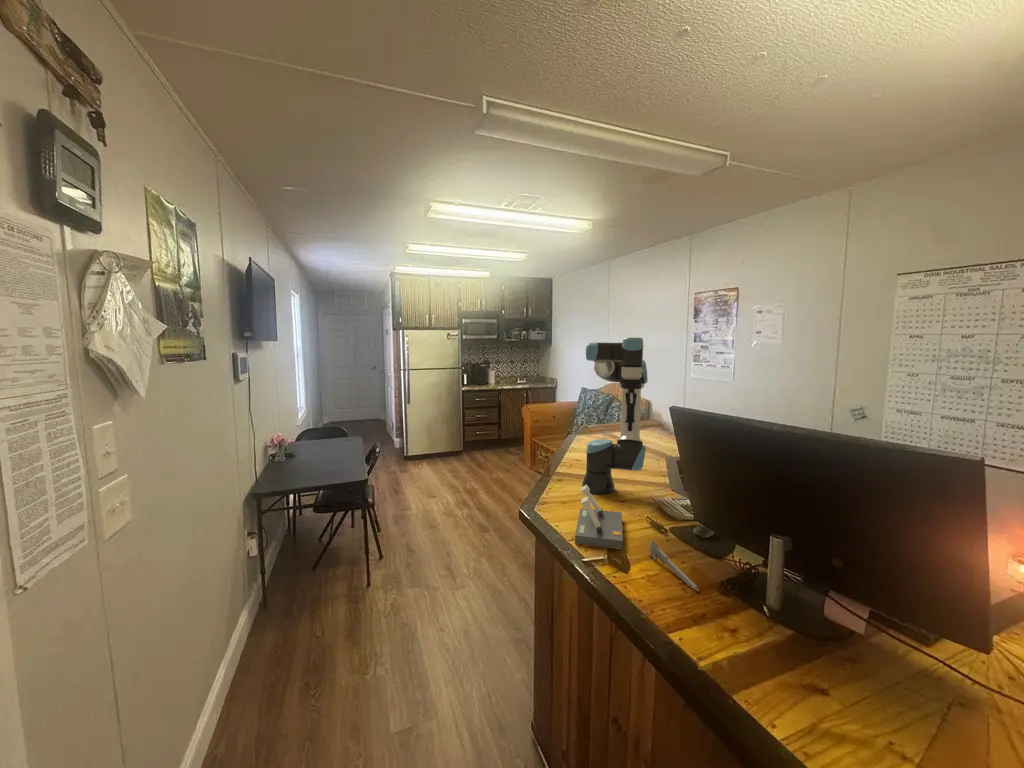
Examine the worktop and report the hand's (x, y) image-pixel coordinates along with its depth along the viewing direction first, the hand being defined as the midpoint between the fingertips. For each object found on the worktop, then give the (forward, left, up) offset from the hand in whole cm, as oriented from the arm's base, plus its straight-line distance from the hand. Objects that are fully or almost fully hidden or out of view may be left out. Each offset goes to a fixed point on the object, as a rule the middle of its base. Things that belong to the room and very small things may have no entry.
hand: (629, 438), depth 158 cm
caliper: (+36, +12, -33) cm, 50 cm away
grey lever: (+20, -10, -28) cm, 36 cm away
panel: (+13, -10, -32) cm, 36 cm away
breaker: (+6, -10, -28) cm, 31 cm away
